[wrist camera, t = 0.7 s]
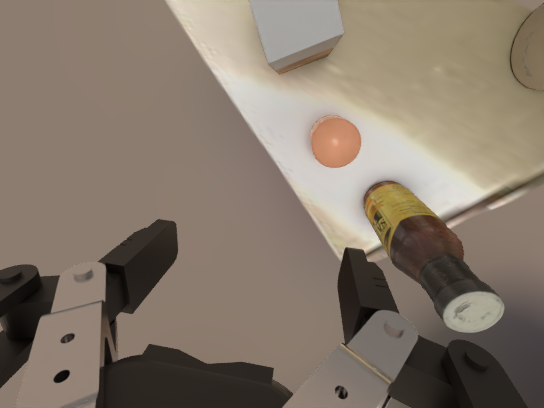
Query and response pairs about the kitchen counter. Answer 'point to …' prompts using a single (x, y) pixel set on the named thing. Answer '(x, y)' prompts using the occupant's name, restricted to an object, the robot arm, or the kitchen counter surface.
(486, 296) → the sauce bottle
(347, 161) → the clay cylinder
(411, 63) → the kitchen counter surface
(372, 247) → the kitchen counter surface
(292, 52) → the slate block
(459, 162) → the kitchen counter surface
